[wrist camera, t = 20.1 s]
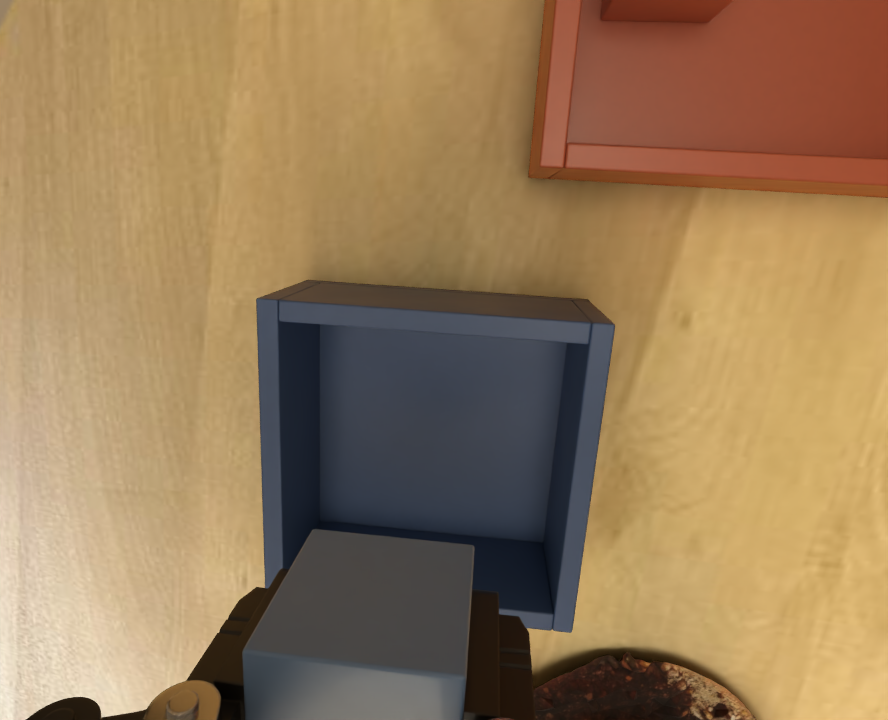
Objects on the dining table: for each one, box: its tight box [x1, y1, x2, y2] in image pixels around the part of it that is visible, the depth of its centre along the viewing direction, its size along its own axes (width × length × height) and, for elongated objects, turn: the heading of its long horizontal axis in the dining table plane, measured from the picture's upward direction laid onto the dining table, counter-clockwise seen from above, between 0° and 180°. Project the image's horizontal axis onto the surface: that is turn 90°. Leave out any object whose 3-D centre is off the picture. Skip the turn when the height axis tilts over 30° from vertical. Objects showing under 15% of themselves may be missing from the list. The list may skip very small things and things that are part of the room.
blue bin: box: [256, 280, 615, 633], centre depth 24 cm, size 13×13×6 cm
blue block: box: [242, 529, 474, 720], centre depth 12 cm, size 4×4×4 cm
